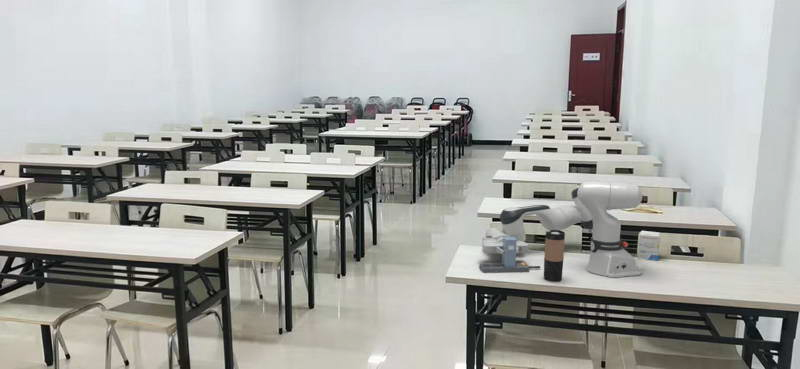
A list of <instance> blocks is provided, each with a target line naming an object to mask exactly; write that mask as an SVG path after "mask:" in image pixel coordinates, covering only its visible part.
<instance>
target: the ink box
mask: <svg viewBox="0 0 800 369" xmlns="http://www.w3.org/2000/svg"><path fill="white" fill-rule="evenodd" d="M660 240H661V232H657V231H650V230H649V231H647V230H641V231H640V233H639V242H638V244H639V245H638V259H640V260H649V261H659V254H660V244H661V241H660Z"/></svg>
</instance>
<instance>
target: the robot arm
mask: <svg viewBox="0 0 800 369" xmlns="http://www.w3.org/2000/svg"><path fill="white" fill-rule="evenodd" d="M571 198H572V199H573V202H574V205H573V204H567V205H560V206H556V207H553V208H551V207H550V206H549V205H546V204H536V205H535V204H533V205H526V206H519V207H506V208H504V209H503V210H502V211H501V213H500V214H499V219H500V223H501V225H502V229H500V228H499V227H494V226H493V227H489V228H488V229H487V230H486V233H485V235H484V236H483V237H482V242H481V243H482V244H481V248H482V249H481V250H482V253H484V254H499V255H502V254H505V253H504V252H505V250H504V249H503V237H514V238H515V239H516V240H517V244H516V255H518V254H520V253H521V254H526V253H528V252H529V250H530V249H529V247H530V246H529V244H528V243H527V242H526V240H527V237H526V232H525V225H524V217H526V216H533V215H535V216H536V217H537V219H539V220H538V221H539V222H540V224H541V225H542V227H543V228H544V229H545V230H546V231H548V232H549V231H551V230H560V231H564V230H566V229H568V228H570V227H571V226H573V225H575V224H578V223H581V224H579V226H580V227H583V228H585V230H590V231H591V230H592V236H591V238H590V254H589V258H588V259H589V260H588V262H587V265H586V268H585V269H586V270H587V271H588V272H590V273H591V274H596V275H600V276H605V277H609V278H623V277H624V278H625V277H632V276H633V277H634V276H641V275H642V270H641V269H640V268H638V267H637V262H636V259H635V257H634V256H633V255H631V254H630V253H629V252H628V251H627V250H626V249H624V247H625V248H627V247H629V243H628V242H626V241H623V240H621V229H622V228H621V225H622V224H621V221H620V220H619V219H618V218H617V217H616V216H613V215H612V214H610V213H609V212H608V211H611V210H626V209H627V210H628V209H636V208H637V207H638V206H640V204H641V203H642V200H643V191H642V190H641V188H640V186H639V185H637V184H632V183H628V182H620V181H619V182H618V181H617V182H616V181H603V180H602V181H601V180H590V181H584V182H582V183H581V184H579V185H578V186H576V187H575V188H574V189H573V190H572V191H571Z"/></svg>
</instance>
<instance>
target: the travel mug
mask: <svg viewBox="0 0 800 369" xmlns="http://www.w3.org/2000/svg"><path fill="white" fill-rule="evenodd" d="M565 236H566V233H565V231H564V230H561V231H560V230H551V231H549V230H546V231H545V244H544V256H543V279H544V280H545V281H548V282H551V283H557V282H561V281H562V277H563V268H564V260H565V259H564V257H565V238H566V237H565Z"/></svg>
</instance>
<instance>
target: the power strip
mask: <svg viewBox="0 0 800 369" xmlns="http://www.w3.org/2000/svg"><path fill="white" fill-rule="evenodd" d="M478 266H479V267H478V268H479V269H480V271H481V273H482V274H487V273H489V274H490V273H491V274H492V273H493V274H495V273H498V274H499V273H502V274H503V273H529V271H530V269H541V266H540V265H527V263H526V262H525V261H524V262H523V261H522V262H516V264H515V267H503V266H502V262H485V263H483V262H482V263H481V262H480V263H479V265H478Z"/></svg>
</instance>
